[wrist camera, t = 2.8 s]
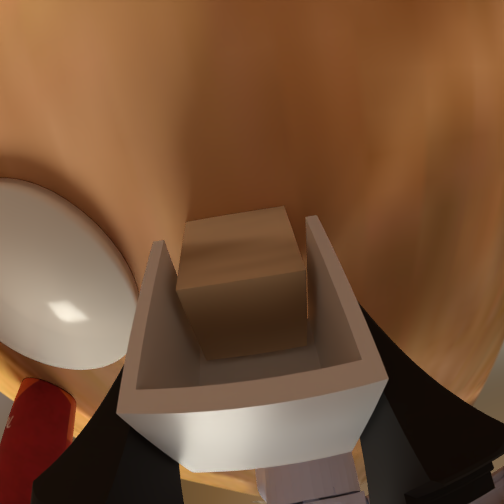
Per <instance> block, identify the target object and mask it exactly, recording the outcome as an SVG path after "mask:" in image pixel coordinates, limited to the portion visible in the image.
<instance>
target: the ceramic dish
mask: <svg viewBox="0 0 504 504" xmlns="http://www.w3.org/2000/svg"><path fill="white" fill-rule="evenodd" d="M138 298H139V293H138V289H137V286H136V282H135V280H134V277H133V275H132V273H131V271H130V268H129V266H128V265H127V263H126V261H125V260H124V258H123V256H122V255H121V253H120V251H119V250H118V249H117V247H116V246H115V245H114V243H113V242H112V241H111V239H110V238H109V237H108V236H107V235H106V234H105V233H104V232H103V231H102V229H101V228H100V227H99V226H98V225H97V224H96V223H95V222H94V221H93V220H91V219H90V218H89V217H88V216H87V215H86V214H85V213H84V212H83V211H81V210H80V209H79V208H77V207H76V206H74V205H73V204H72V203H70V202H69V201H68V200H66V199H64V198H63V197H61V196H59V195H58V194H56V193H54V192H52V191H50V190H48V189H46V188H44V187H41V186H39V185H37V184H34V183H30V182H27V181H24V180H19V179H12V178H0V342H2V343H3V344H5V345H6V346H8V347H10V348H11V349H13V350H15V351H16V352H18V353H20V354H22V355H24V356H26V357H28V358H31V359H33V360H36V361H38V362H41V363H44V364H47V365H51V366H55V367H60V368H66V369H76V370H86V369H95V368H100V367H104V366H107V365H110V364H112V363H114V362H116V361H117V360H119V359H120V358H122V357H123V356H124V355H125V354H126V353H127V348H128V343H129V338H130V333H131V328H132V324H133V319H134V315H135V310H136V306H137V302H138Z"/></svg>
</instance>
